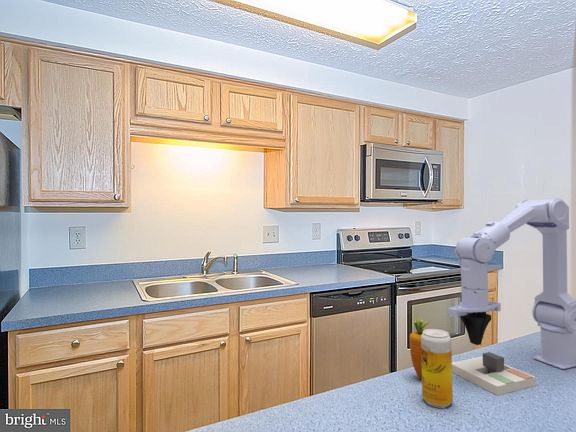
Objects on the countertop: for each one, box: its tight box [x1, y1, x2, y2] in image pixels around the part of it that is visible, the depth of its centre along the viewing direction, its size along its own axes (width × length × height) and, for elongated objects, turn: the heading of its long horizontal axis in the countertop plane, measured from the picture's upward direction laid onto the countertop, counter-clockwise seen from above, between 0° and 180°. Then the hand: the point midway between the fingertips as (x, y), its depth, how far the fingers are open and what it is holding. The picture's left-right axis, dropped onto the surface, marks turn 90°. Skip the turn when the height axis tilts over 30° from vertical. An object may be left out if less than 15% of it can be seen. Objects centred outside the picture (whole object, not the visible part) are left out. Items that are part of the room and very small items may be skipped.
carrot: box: [409, 317, 429, 380], centre depth 90 cm, size 5×5×15 cm
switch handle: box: [482, 351, 505, 374], centre depth 90 cm, size 2×4×5 cm, turn 20°
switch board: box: [452, 355, 537, 396], centre depth 90 cm, size 12×14×2 cm
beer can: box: [421, 328, 454, 409], centre depth 79 cm, size 6×6×15 cm
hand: (475, 343), depth 88 cm, fingers closed
